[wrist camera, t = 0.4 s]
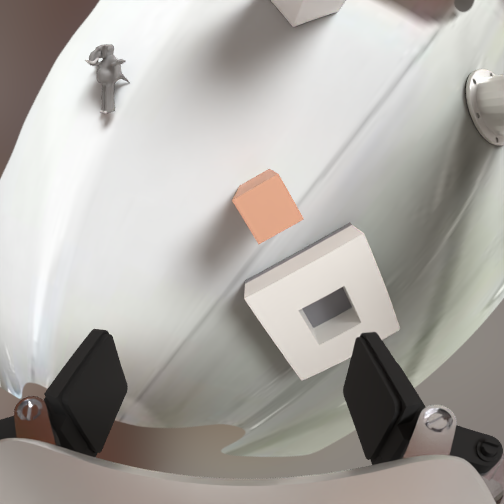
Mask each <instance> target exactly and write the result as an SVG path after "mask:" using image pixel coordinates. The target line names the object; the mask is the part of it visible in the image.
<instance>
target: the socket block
mask: <svg viewBox="0 0 504 504" xmlns="http://www.w3.org/2000/svg"><path fill="white" fill-rule="evenodd" d="M244 299H245V301H246V302H247V304H248V305H249V307H250V308H251V310H252V311H253V312H254V314H255V315H256V317H257V318H258V320H259V321H260V323H261V324H262V325H263V327H264V328H265V330H266V331H267V333H268V334H269V336H270V337H271V338H272V340H273V341H274V343H275V344H276V346H277V347H278V348H279V350H280V351H281V353H282V354H283V355H284V357H285V358H286V360H287V361H288V362H289V364H290V365H291V367H292V368H293V369H294V371H295V372H296V374H297V375H298V376H299V378H300V379H301V380H305V379H307V378H309V377H311V376H314V375H316V374H318V373H320V372H322V371H324V370H326V369H328V368H330V367H333V366H335V365H337V364H339V363H341V362H343V361H345V360H347V359H348V358H350V357H352V353H353V348H354V344H355V340H356V338H357V337H360V335H361V333H368V332H376V333H377V334H378V335H379V337H380V338H381V340H383V339H385V338H387V337H388V336H390V335H392V334H393V333H395V332H397V331H398V330H400V326H399V323H398V320H397V317H396V314H395V311H394V309H393V306H392V303H391V300H390V297H389V295H388V292H387V289H386V286H385V284H384V281H383V279H382V276H381V273H380V271H379V268H378V266H377V263H376V261H375V258H374V256H373V253H372V251H371V249H370V246H369V244H368V242H367V239H366V237H365V235H364V233H363V232H362V231H360V230H359V229H357V228H356V227H355V226H353V225H352V224H351V223H348V224H347V225H345V226H343V227H341V228H340V229H338V230H336V231H334V232H332V233H331V234H329V235H327V236H325V237H324V238H322V239H320V240H318V241H316V242H315V243H313V244H311V245H309V246H307V247H306V248H304V249H302V250H300V251H298V252H297V253H295V254H293V255H291V256H289V257H288V258H286V259H284V260H282V261H280V262H278V263H277V264H275V265H273V266H271V267H269V268H267V269H266V270H264V271H262V272H260V273H258V274H256V275H255V276H253V277H251V278H249V279H247V280H245V292H244Z"/></svg>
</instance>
